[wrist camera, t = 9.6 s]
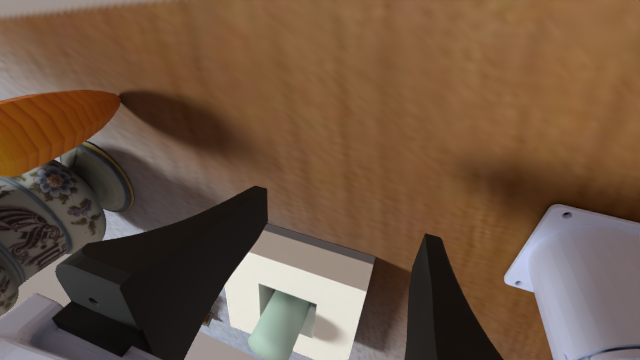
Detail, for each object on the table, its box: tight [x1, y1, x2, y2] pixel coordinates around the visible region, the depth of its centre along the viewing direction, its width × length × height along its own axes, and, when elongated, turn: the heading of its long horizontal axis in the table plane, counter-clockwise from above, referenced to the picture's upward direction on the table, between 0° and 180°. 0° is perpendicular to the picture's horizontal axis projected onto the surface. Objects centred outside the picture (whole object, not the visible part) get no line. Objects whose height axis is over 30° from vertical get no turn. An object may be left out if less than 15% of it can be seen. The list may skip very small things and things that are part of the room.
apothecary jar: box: [0, 141, 134, 316], centre depth 29 cm, size 12×12×18 cm
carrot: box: [0, 90, 121, 177], centre depth 22 cm, size 5×5×15 cm
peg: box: [248, 290, 312, 360], centre depth 30 cm, size 4×4×7 cm
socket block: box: [225, 224, 375, 360], centre depth 32 cm, size 14×14×4 cm
